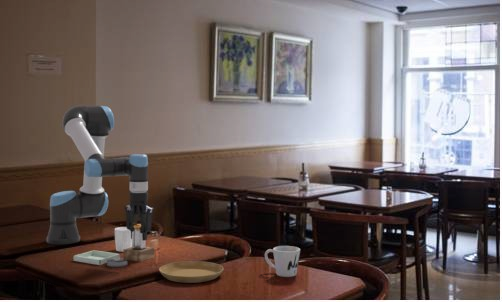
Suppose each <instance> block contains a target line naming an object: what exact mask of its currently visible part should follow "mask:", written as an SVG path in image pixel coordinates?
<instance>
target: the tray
mask: <svg viewBox="0 0 502 302" xmlns="http://www.w3.org/2000/svg"><path fill="white" fill-rule="evenodd" d="M115 258H120V259H121V254H120V253H116V252H110V251H109V252H108V251H101V250H95V249H93V250H90V251H87V252H86V251H85V252H82V253H78V254H75V255H73V262H78V263H85V264H90V265H97V266H102V265H107V261H108V260H110V259H115Z"/></svg>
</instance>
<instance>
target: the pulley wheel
mask: <svg viewBox="0 0 502 302" xmlns="http://www.w3.org/2000/svg"><path fill="white" fill-rule="evenodd" d="M128 262H129V260H127V259H123V258H121V257H120V258H115V259H110V260H108V261H107V263H106V265H107V267H110V268H123V267H126V266H128V265H129V264H128Z"/></svg>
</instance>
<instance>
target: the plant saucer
mask: <svg viewBox="0 0 502 302" xmlns="http://www.w3.org/2000/svg"><path fill="white" fill-rule="evenodd" d="M158 270H159V273H160V274H161V275H162V277H163V278H164V279H166V280H169V281H171V282H176V283H182V284H183V283H184V284H188V283H189V284H197V283H205V282H211V281H213V280H215V279H216V278H218V277H219V276H220V275H221V274H222V273H223V271H224V267H223V265H221V264H218V263H215V262H210V261H201V260H200V261H197V260H193V261H191V260H188V261H186V260H185V261H176V262H175V261H174V262H169V263H166V264H164V265H162V266H160V267H159V268H158Z"/></svg>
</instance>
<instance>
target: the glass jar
mask: <svg viewBox="0 0 502 302" xmlns="http://www.w3.org/2000/svg"><path fill="white" fill-rule="evenodd" d="M133 228H135V250H143V248H142V249H141V248H140V233H141V232H142V230H141V223H137V224H135V225H133Z"/></svg>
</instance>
